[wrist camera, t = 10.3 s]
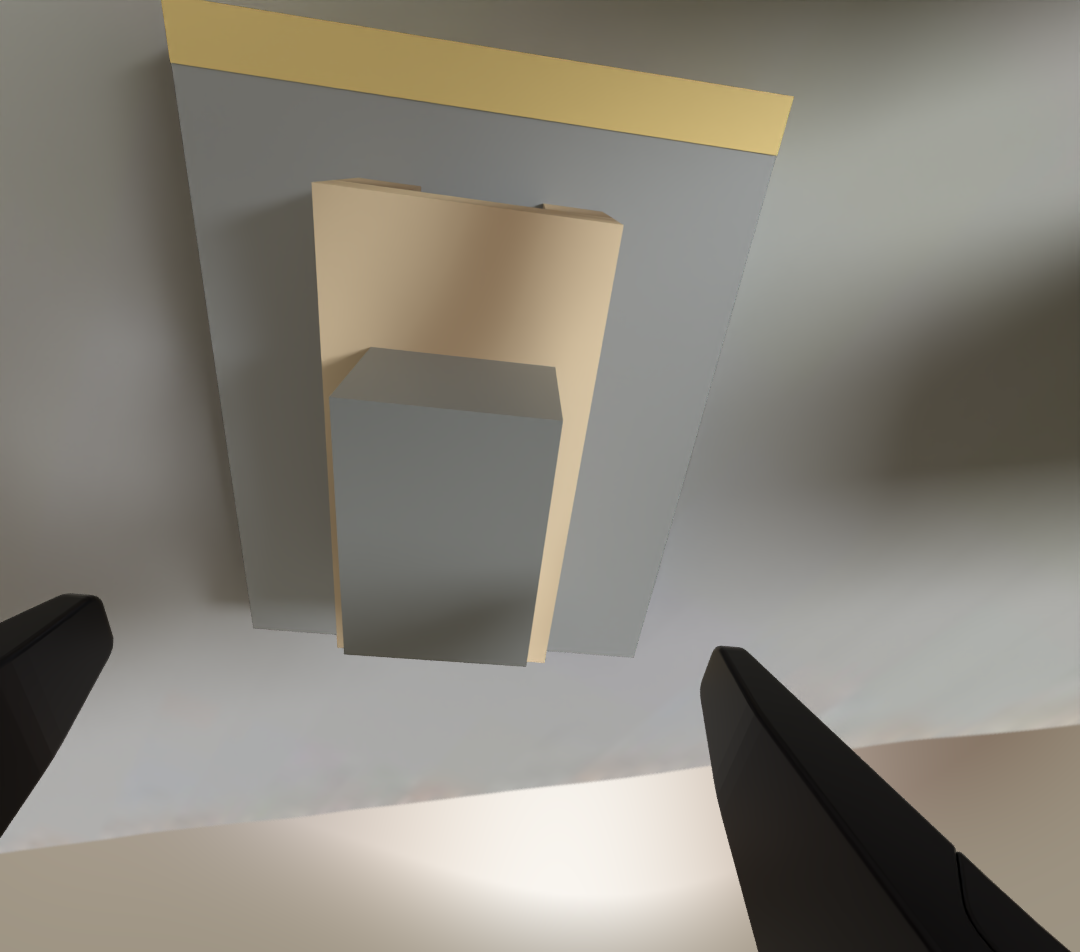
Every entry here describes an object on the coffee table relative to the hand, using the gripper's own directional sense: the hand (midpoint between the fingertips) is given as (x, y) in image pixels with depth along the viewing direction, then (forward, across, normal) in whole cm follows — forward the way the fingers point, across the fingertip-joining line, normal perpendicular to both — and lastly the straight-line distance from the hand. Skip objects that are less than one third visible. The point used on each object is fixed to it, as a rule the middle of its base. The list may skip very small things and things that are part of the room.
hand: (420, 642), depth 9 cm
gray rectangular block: (+6, 0, 0) cm, 6 cm away
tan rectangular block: (+9, 0, 0) cm, 9 cm away
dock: (+12, 0, 0) cm, 12 cm away
